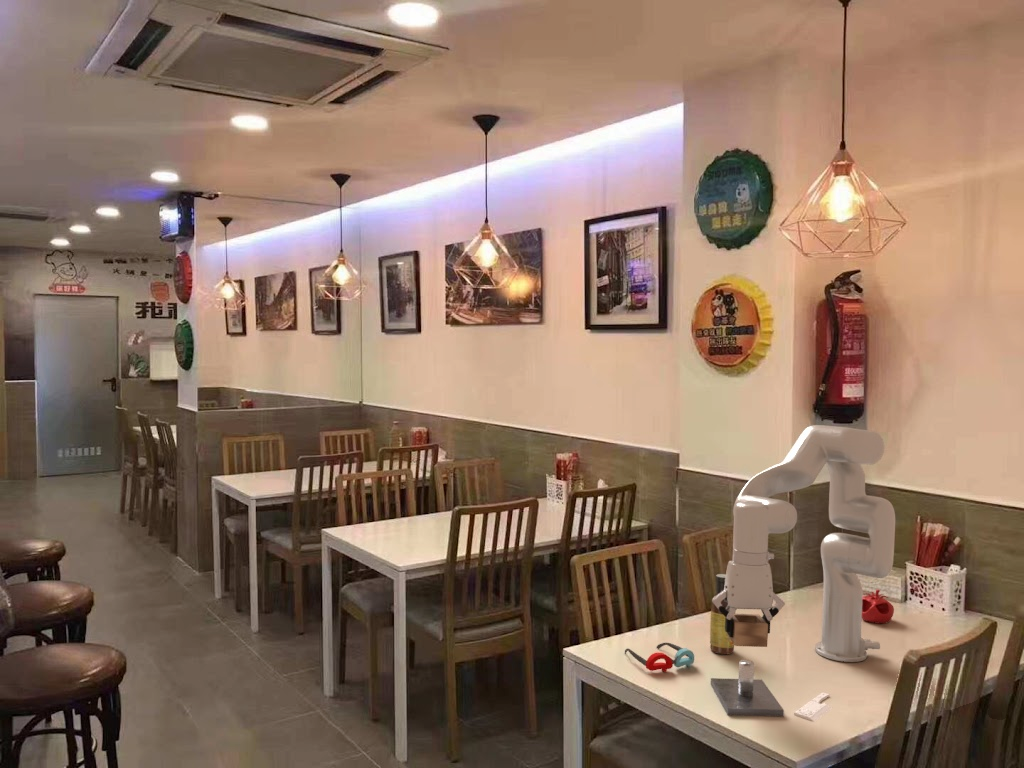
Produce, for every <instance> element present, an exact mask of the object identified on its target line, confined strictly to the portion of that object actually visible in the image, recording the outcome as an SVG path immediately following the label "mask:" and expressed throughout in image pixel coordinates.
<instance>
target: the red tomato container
mask: <svg viewBox="0 0 1024 768" xmlns="http://www.w3.org/2000/svg"><path fill="white" fill-rule="evenodd" d="M880 591H881V590H880V589H875V592H874V591H870V592H868V593H867V592H866V593H864V595H863V597H862V620H864V621H865V622H868V621H869V623H874V622H875V624H880V623H882V624H887V623H886V622H888V623H889V622H890V621H891V620H892V618H893V616H894V613H895V608H894V606H893V604H892V603H891V602H889V600H887V599H889V596H886V595H885V593H881V594H879V593H880ZM886 598H887V599H886Z"/></svg>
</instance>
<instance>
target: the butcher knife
mask: <svg viewBox="0 0 1024 768" xmlns="http://www.w3.org/2000/svg"><path fill="white" fill-rule="evenodd" d="M827 697H828V698H829V697H830V694H829V693H825V692H820V694H818V695H817V696H815V697H814V698H812V699H811V700H810V701H808V702H806V703H805V704H804V705H802V706H801V707H800V708H799V709H797V710H796V711H794V712H793V715H794V716H796V717H799V718H802V719H805V720H808V721H810V722H814V723H815V722H817V720H819V719H820V718H821V717H823V715H825V714H826V713H828V712H829V711H830V710H832V709H833V706H831V705H828V704H827V703H826V702H823V703H821V702H822V701H823V700H826V699H827Z"/></svg>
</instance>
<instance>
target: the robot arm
mask: <svg viewBox="0 0 1024 768" xmlns="http://www.w3.org/2000/svg"><path fill="white" fill-rule="evenodd" d="M884 452H885V442H884V439H883V437H882V435H881V433H879V432H877V431H875V430H868V429H867V430H866V429H859V428H854V427H853V428H852V427H846V426H835V425H823V424H814V425H810V426H807V427H806V428H805V429H804V430H803V431H802V432H801V433H800V435H799V437H797V439H796V440H795V442H794V444H793V445H792V447H791V448H790V450H789V451H788V452H787V454H786V455H785V457H784V458H783V460H782V461H781V462H779V463H778V464H777V463H776V464H775V465H773V466H771V467H768V468H767V469H765V470H763V471H761V472H759V473H757V474H756V475H754V476H753V477H751V478H750V479H749V480H748V481H747V483H746V484H745V485H744V487H743V488H742V489H741V491H740V492H739V494H738V495H737V497H736V498H735V501H734V504H733V509H732V514H733V533H732V534H733V535H732V537H733V539H732V560H729V561H728V563H727V565H726V566H727V567H726V571H725V572H726V573H725V574H726V577H725V585H724V590H723V591H722V592H720V593H719V594H718V595H717V596H715V597H714V596H713V597H714V598H713V597H712V598H711V602H713V603H714V604H715V606H716V607H717V608H718V609H719V611H720V612H721V613H722V614H723V615H724V616H725V631H726V632H727V634H728V635H729V636H730V637H733V629H734V620H733V615H734V613H735V614H736V611H738V610H761V613H762V616H761V617H762V618H763V619H764V621H765V622H766V623H767V624H768V634H770V633H771V622H772V620H773V618H774V617H775V616H776V615H778V613H779V611H780V610H782V608H784V606H785V605H786V602H785V601H784V600H783V599H782V598H780V597H779V596H778V595H777V594H776V593H775V592H774V589H773V574H772V568H771V565H770V563H769V561H770V560H774V558H775V554H774V552H770V551H769V550H768V549H769V535H770V534H784V533H785V534H786V533H788V532H790V531H791V530H792V529H794V527H795V525H796V524H797V521H798V512H797V509H796V507H795V506H794V505H793V504H792V503H790V502H788V501H786V500H784V499H783V500H782V499H778V498H771V496H774V495H778V494H781V493H786V492H787V493H788V492H792V491H793V492H794V491H796V490H797V491H798V490H801V489H805V488H808V487H810V486H811V485H813V484H814V483H815V480H816V479H817V478H818V476H819V474H820V473H821V471H822V470H823V468H824V467H825V465H826V467H827V470H828V473H829V495H828V496H829V497H828V499H829V500H828V519H829V522H830V523H831V524H832V525H833V526H834V527H837V528H840V529H844V530H849V531H854V532H859V533H864V534H868V536H869V537H864V536H860V535H856V534H855V535H854V534H849V533H844V532H832V533H831V532H830V533H829V534H827V535H826V536H825V537H824V538H823V539H822V541H821V544H820V557H821V564H822V571H823V572H822V573H823V590H822V593H823V595H822V617H821V618H822V619H821V641H818V642H817V643H815V645H814V651H815V652H816V653H817V654H818V655H820V656H822V657H824V658H826V659H829V660H833V661H837V662H843V661H844V663H857V662H858V663H859V662H863V661H865V660H866V659H867V657H868V653H867V651H868V650H869V649H870V650H880V648H881V645H880V644H881V643H880V642H879V641H871V639H870V638H862V624H863V623H862V622H863V621H862V620H863V619H862V597H863V596H864V593H863V591H864V589H863V585H862V583H861V581H860V579H859V577H858V575H861V576H865V577H869V578H874V579H875V578H876V579H884V578H887V577H888V576H889V575H890V573H891V572H892V570H893V565H894V557H895V556H894V555H895V540H896V539H895V538H896V537H895V535H896V534H895V533H896V513H895V509H894V506H893V504H892V502H890V501H889V500H888V499H886V498H884V497H881V496H875V495H867V494H866V493H867V492H866V474H865V471H864V469H863V466H862V465H869V466H871V465H875V464H876V463H877V464H878V462H879V461H880V460H881V459H882V457H883V456H884ZM723 599H724V601H725V602H727V603H728V606H727V607H726V609H725V608H724V607H723V606H722V604H721V601H722V600H723ZM774 602H775V603H774ZM773 603H774V604H773ZM737 609H738V610H737Z"/></svg>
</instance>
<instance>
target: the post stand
mask: <svg viewBox="0 0 1024 768" xmlns="http://www.w3.org/2000/svg"><path fill="white" fill-rule="evenodd" d="M754 673H755V663H754V661H751V660H749V659H748V660H747V659H741V660H739V663H738V678H713V677H712V678H711V677H710V686H711V688H712V690H713V691H714V693H715V695H716V697H717V699H718V700H719V702H720V704H721V706H722V708H723V709H724V711H725V713H726V716H741V715H742V716H743V715H744V716H746V717H748V716H749V717H751V716H752V717H781V718H782V717H784V714H785V713H784V712H785V711H784V708H783V707H782V706H781V704H780V702H779V701H778V700H777V698H776V697H775V696H774V695H773V693H772V691H771V690H770V689H769V687H768V686H767V685H766V683H765V682H764V681H763V679H756V678H755V675H754ZM754 678H755V679H754ZM742 716H741V717H742Z"/></svg>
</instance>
